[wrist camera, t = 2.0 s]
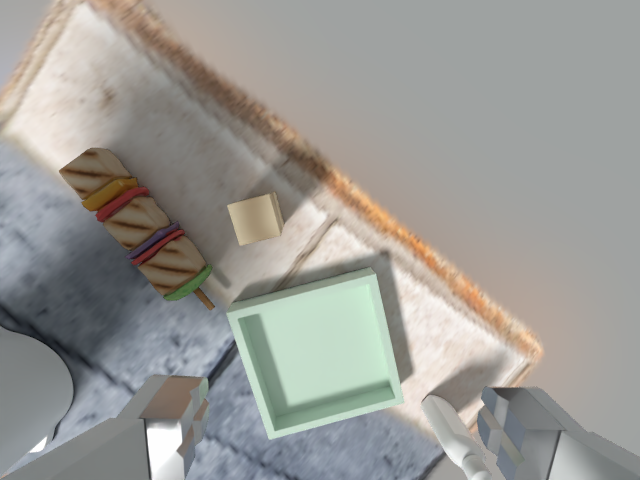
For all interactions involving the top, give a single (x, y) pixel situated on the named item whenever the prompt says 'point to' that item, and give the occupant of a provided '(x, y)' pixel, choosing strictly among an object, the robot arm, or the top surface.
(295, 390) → the tray
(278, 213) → the birch block
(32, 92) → the top surface
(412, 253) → the top surface
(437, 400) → the eye dropper bottle
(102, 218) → the skewer
